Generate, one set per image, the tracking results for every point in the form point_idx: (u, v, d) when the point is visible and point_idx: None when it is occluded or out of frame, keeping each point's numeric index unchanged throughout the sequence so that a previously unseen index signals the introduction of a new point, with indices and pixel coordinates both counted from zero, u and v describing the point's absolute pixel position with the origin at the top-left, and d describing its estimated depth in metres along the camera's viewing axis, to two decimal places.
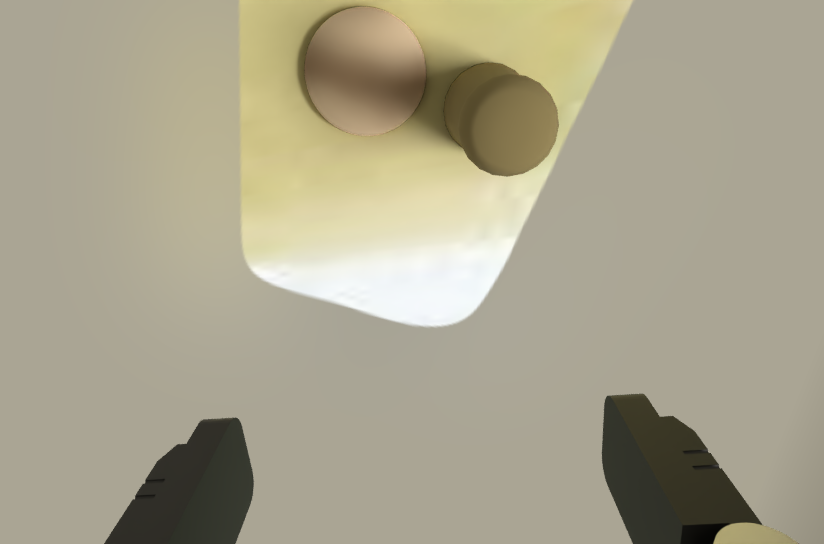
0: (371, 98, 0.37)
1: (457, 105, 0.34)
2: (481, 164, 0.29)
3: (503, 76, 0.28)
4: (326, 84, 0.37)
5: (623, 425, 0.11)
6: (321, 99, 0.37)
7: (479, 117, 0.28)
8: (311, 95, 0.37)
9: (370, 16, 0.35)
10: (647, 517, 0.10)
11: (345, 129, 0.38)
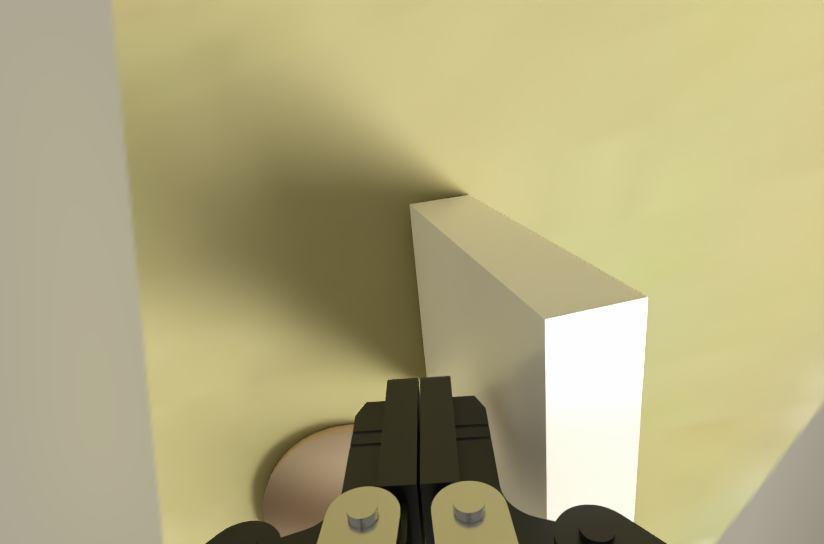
0: None
1: None
2: None
3: None
4: (300, 528, 0.22)
5: None
6: None
7: None
8: None
9: None
10: None
11: None
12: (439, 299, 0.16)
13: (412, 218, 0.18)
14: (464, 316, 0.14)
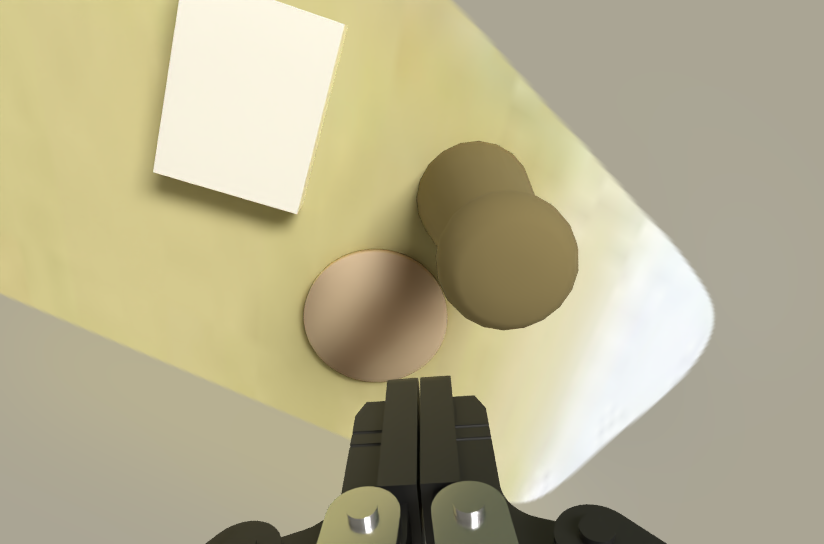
0: (404, 324, 0.31)
1: None
2: (538, 321, 0.20)
3: (440, 251, 0.20)
4: (370, 361, 0.32)
5: None
6: (383, 372, 0.32)
7: (477, 309, 0.20)
8: (375, 380, 0.32)
9: (319, 292, 0.30)
10: None
11: (424, 362, 0.32)
12: (210, 134, 0.26)
13: (162, 171, 0.27)
14: (209, 85, 0.25)
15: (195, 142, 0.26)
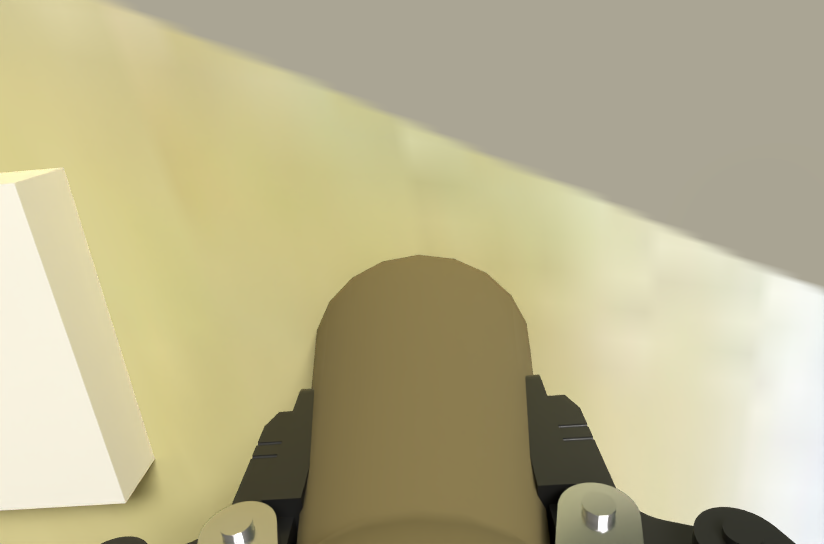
0: None
1: None
2: None
3: None
4: None
5: None
6: None
7: None
8: None
9: None
10: None
11: None
12: None
13: None
14: None
15: None
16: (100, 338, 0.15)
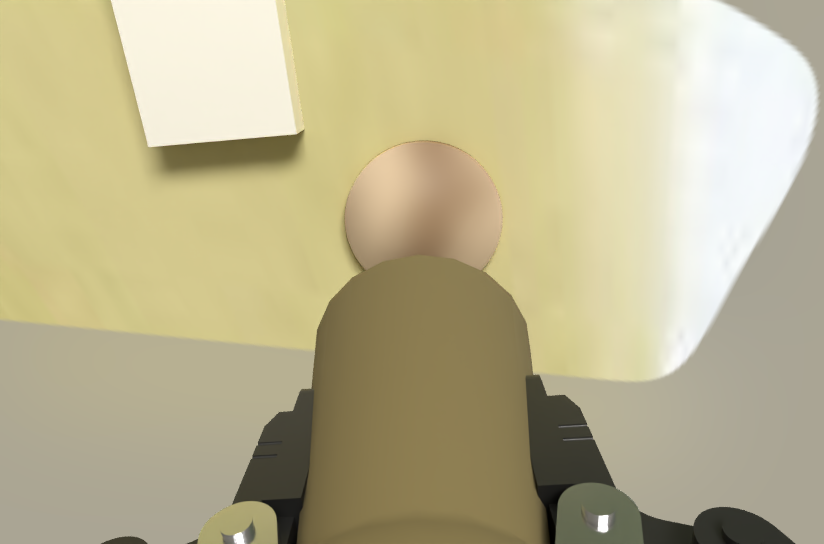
0: (454, 215, 0.28)
1: None
2: None
3: None
4: None
5: None
6: None
7: None
8: None
9: (355, 213, 0.28)
10: None
11: (492, 250, 0.29)
12: (182, 85, 0.25)
13: (156, 142, 0.26)
14: (162, 34, 0.24)
15: (173, 99, 0.25)
16: (285, 27, 0.25)
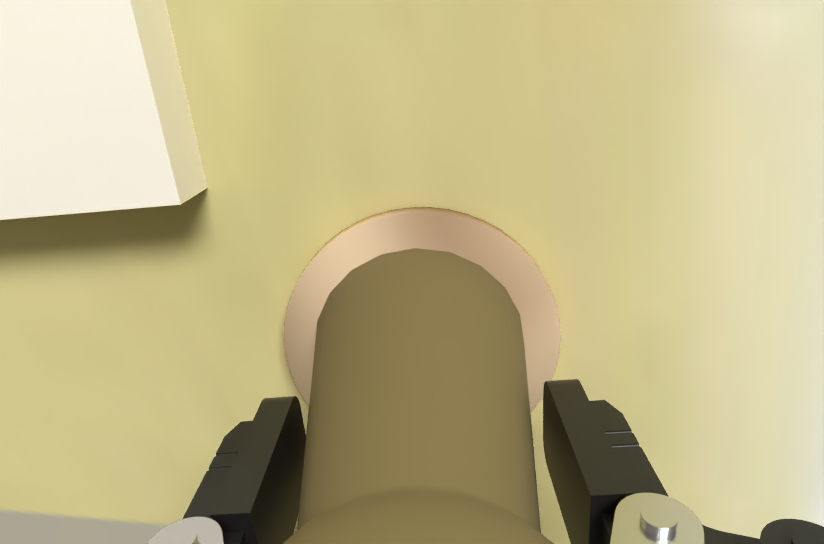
0: None
1: None
2: None
3: None
4: None
5: (554, 408, 0.11)
6: None
7: None
8: None
9: (302, 332, 0.16)
10: (570, 492, 0.10)
11: (541, 390, 0.17)
12: None
13: None
14: None
15: None
16: (153, 1, 0.13)
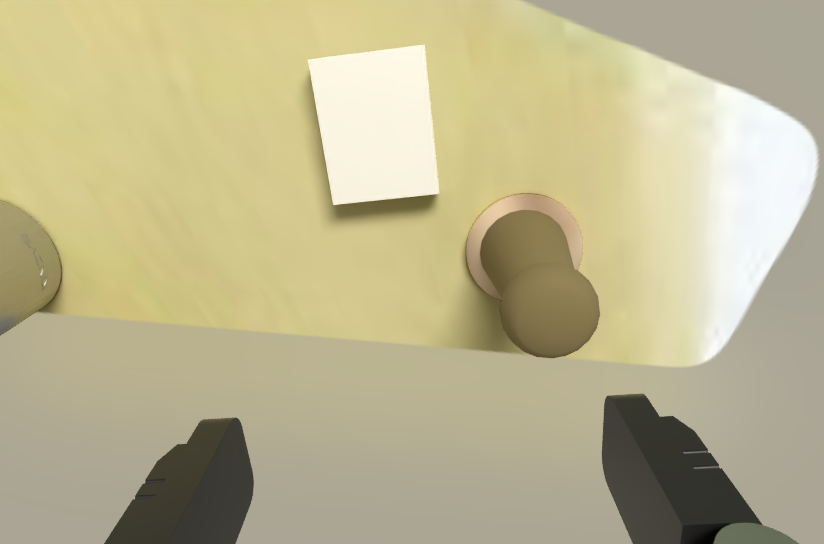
0: None
1: None
2: None
3: (503, 321, 0.30)
4: None
5: (623, 425, 0.11)
6: None
7: (540, 351, 0.29)
8: None
9: (474, 246, 0.39)
10: (647, 517, 0.10)
11: None
12: (361, 162, 0.35)
13: (339, 201, 0.37)
14: (349, 129, 0.35)
15: (353, 172, 0.36)
16: None
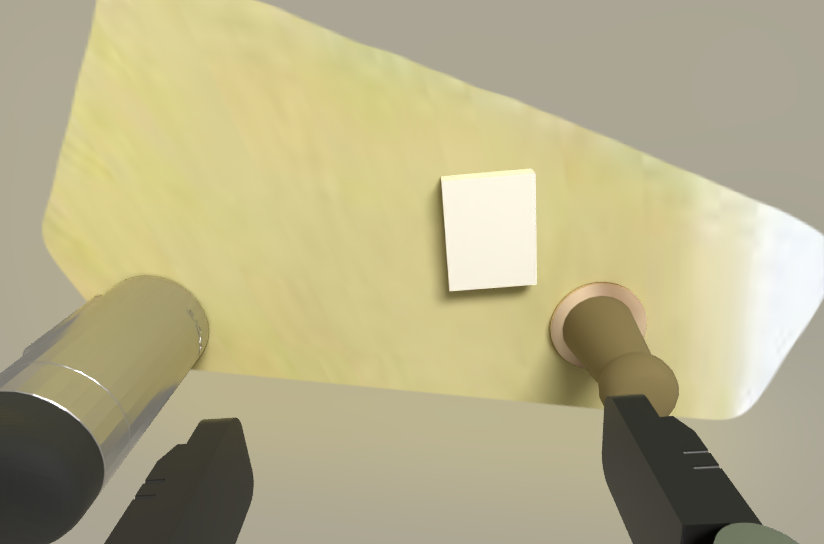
0: None
1: None
2: (666, 415, 0.38)
3: (602, 397, 0.38)
4: None
5: (623, 425, 0.11)
6: None
7: None
8: None
9: (558, 323, 0.47)
10: (647, 517, 0.10)
11: None
12: (475, 259, 0.44)
13: (454, 288, 0.45)
14: (469, 233, 0.43)
15: (468, 266, 0.44)
16: None
